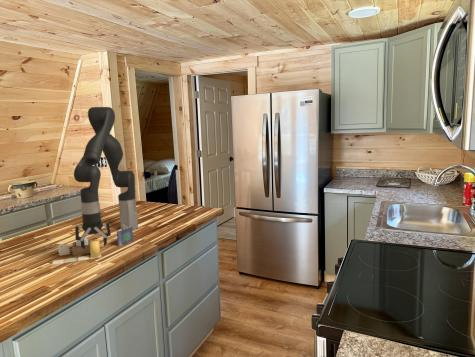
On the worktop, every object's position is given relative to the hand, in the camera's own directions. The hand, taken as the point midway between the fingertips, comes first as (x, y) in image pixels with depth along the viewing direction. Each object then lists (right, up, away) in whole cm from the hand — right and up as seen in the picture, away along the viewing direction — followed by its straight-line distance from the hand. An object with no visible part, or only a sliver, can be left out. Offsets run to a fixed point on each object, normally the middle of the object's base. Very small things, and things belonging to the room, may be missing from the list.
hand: (94, 246), depth 152 cm
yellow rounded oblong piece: (0, -4, +1) cm, 4 cm away
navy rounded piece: (+8, -3, +17) cm, 19 cm away
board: (-9, -6, +3) cm, 11 cm away
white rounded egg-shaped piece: (-8, -3, +7) cm, 11 cm away
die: (-16, -4, +5) cm, 17 cm away
